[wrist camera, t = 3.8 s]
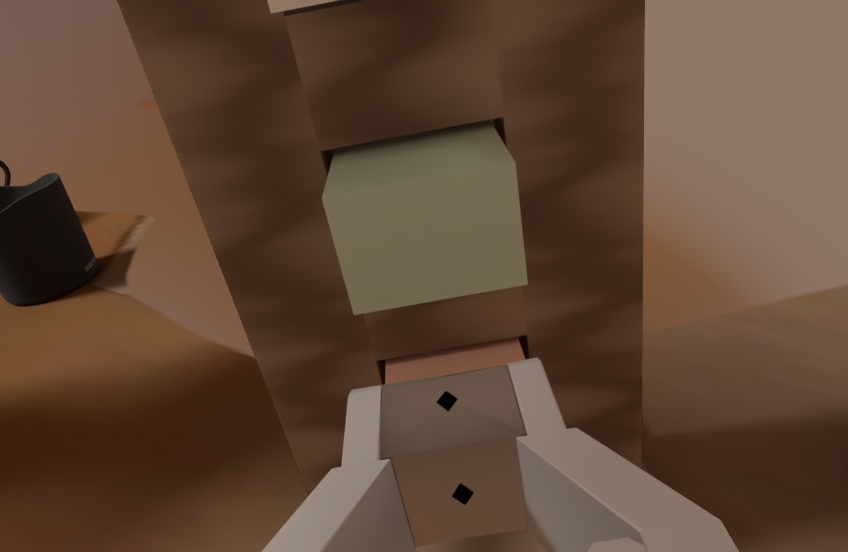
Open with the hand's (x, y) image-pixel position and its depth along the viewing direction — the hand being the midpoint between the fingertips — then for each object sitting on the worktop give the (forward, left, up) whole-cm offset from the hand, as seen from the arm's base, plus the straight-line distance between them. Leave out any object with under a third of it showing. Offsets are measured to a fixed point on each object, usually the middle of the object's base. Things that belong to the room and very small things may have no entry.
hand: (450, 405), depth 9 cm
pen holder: (-49, +35, -17) cm, 63 cm away
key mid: (-3, +10, -2) cm, 10 cm away
